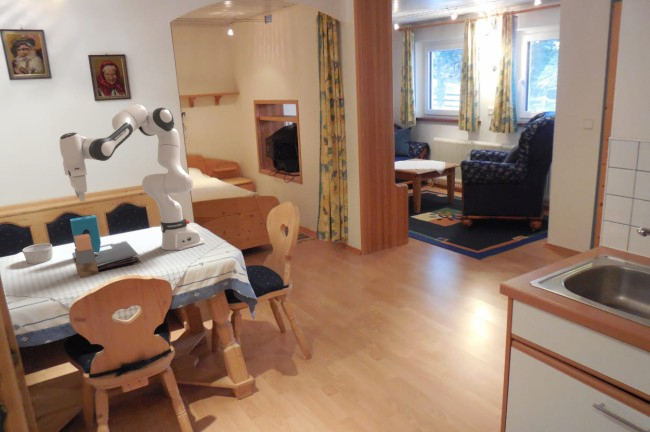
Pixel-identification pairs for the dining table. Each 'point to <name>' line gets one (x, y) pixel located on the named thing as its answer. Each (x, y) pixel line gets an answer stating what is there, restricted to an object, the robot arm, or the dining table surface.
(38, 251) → the ramekin
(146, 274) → the dining table surface
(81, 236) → the terracotta cube
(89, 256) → the tower top
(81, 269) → the tower base
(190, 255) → the dining table surface
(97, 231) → the block
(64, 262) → the dining table surface
